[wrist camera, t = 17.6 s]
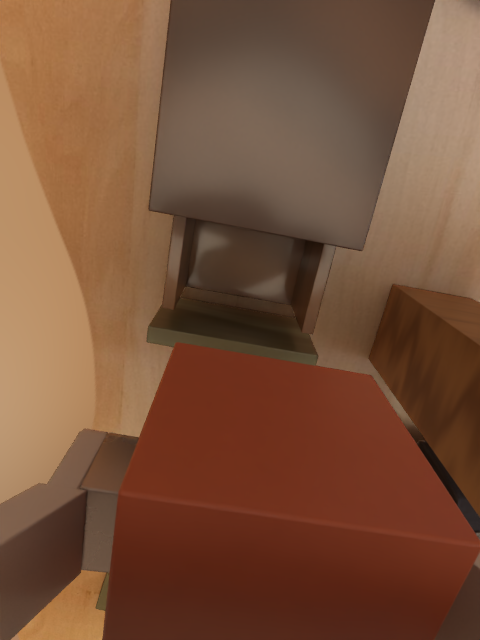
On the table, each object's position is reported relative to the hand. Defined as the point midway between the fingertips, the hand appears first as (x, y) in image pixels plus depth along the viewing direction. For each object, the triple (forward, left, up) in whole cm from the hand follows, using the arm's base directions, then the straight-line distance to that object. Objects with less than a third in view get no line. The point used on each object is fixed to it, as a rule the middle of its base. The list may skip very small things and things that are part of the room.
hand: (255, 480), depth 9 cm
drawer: (-1, 0, -25) cm, 25 cm away
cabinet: (+10, 0, -26) cm, 28 cm away
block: (0, 0, -1) cm, 1 cm away
